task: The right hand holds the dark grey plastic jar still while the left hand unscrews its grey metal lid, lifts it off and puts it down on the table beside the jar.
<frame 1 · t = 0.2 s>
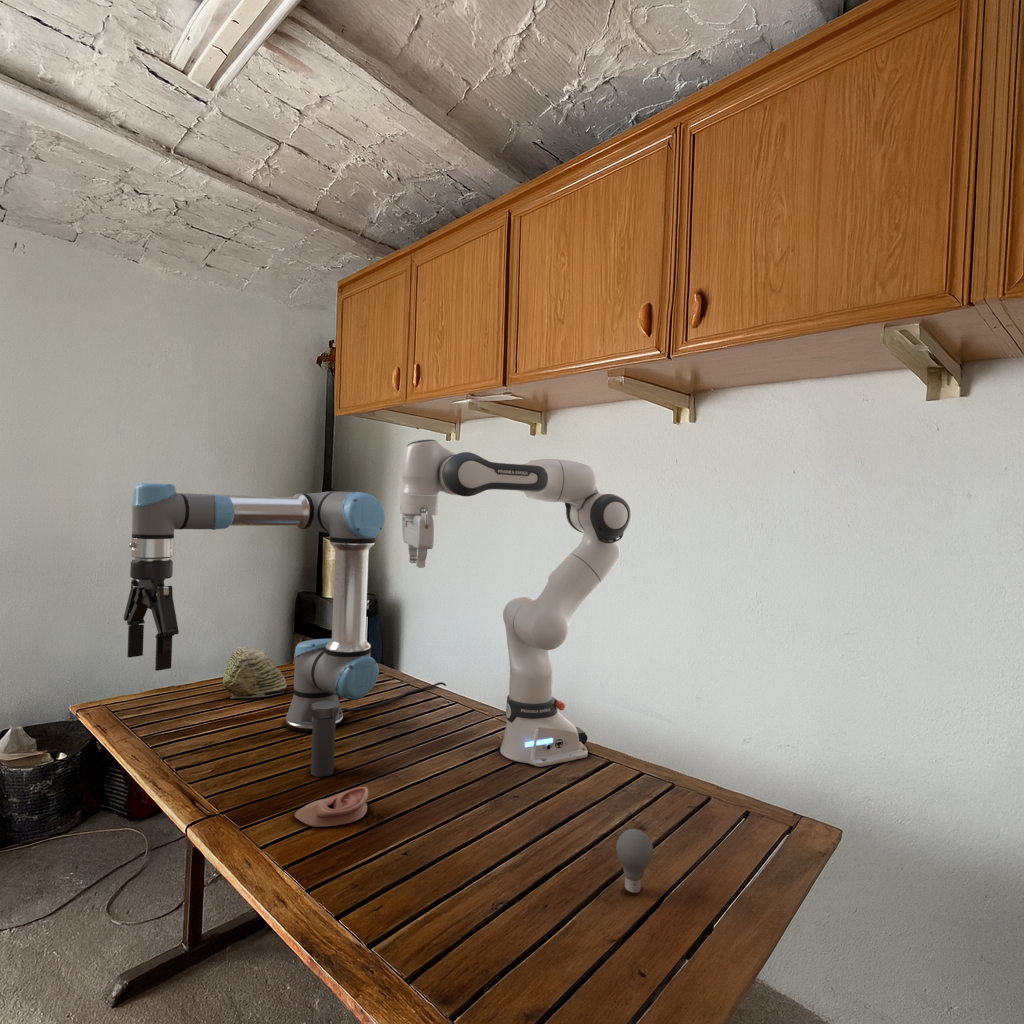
left hand: (148, 662, 129), 28 cm above the table, tool pointing down, fingers open, 13 cm apart
right hand: (416, 565, 151), 48 cm above the table, tool pointing down, fingers open, 8 cm apart
light bulb: (632, 891, 106), on the table
anatomical model: (331, 814, 127), on the table
lid: (324, 706, 145), point 15 cm above the table, screwed on, not yet turned
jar: (322, 772, 146), on the table
fossil: (254, 694, 198), on the table
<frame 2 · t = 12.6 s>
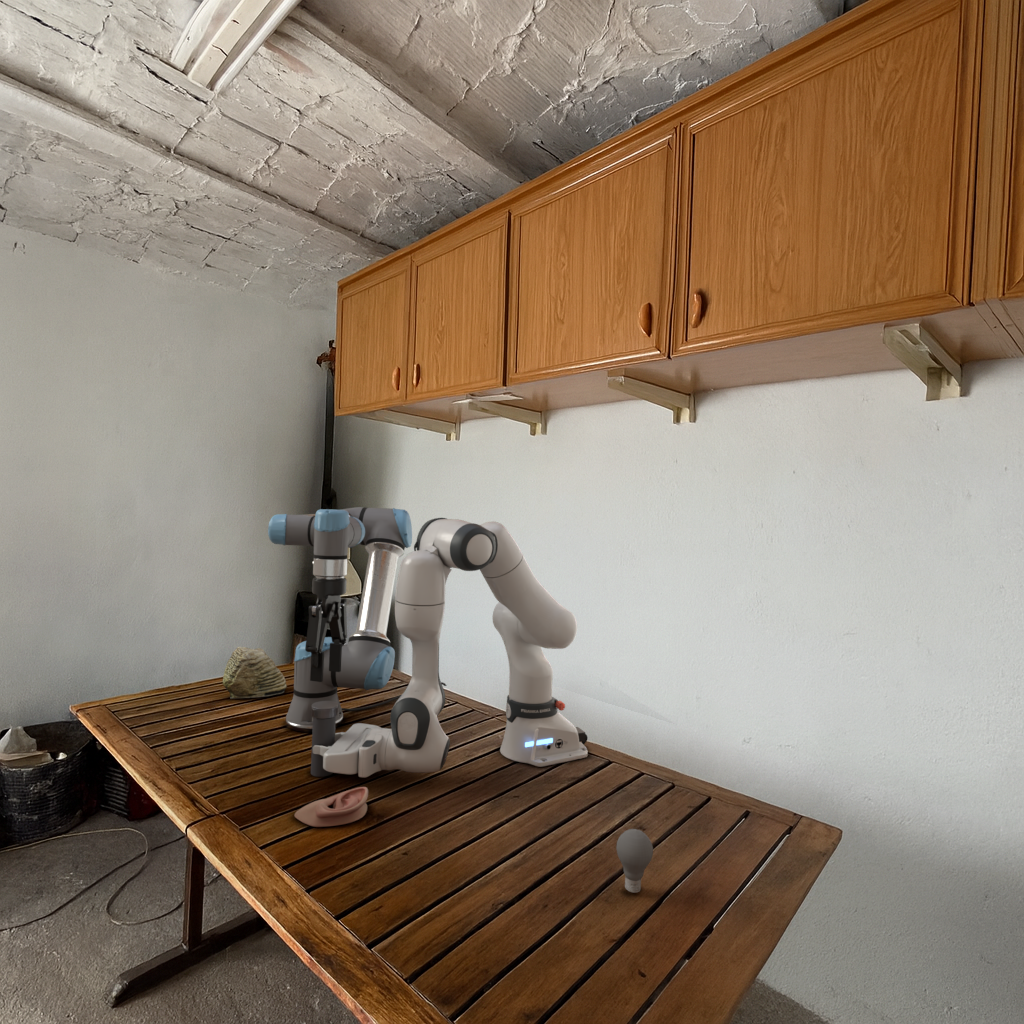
left hand: (325, 675, 145), 22 cm above the table, tool pointing down, fingers open, 8 cm apart
right hand: (319, 743, 145), 7 cm above the table, tool horizontal, fingers closed on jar, 5 cm apart
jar: (322, 772, 146), on the table, touching right hand
everything else where it was.
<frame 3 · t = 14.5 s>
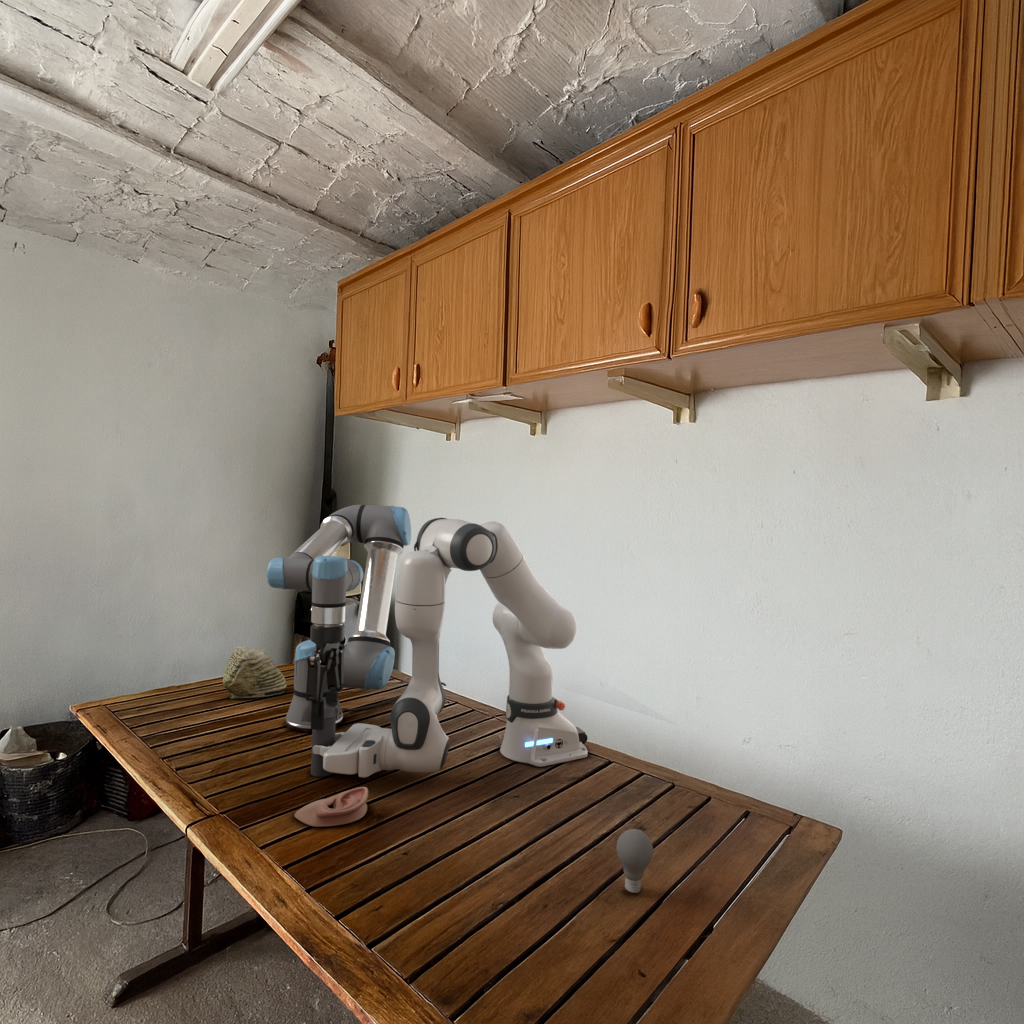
left hand: (324, 724, 145), 11 cm above the table, tool pointing down, fingers closed on lid, 6 cm apart
right hand: (319, 743, 145), 7 cm above the table, tool horizontal, fingers closed on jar, 5 cm apart
lid: (324, 706, 145), point 15 cm above the table, screwed on, not yet turned, touching left hand
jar: (322, 772, 146), on the table, touching right hand
everything else where it was.
when the left hand's fingers open (11 cm above the table, at t = 15.9 s): lid stays where it is, point 16 cm above the table.
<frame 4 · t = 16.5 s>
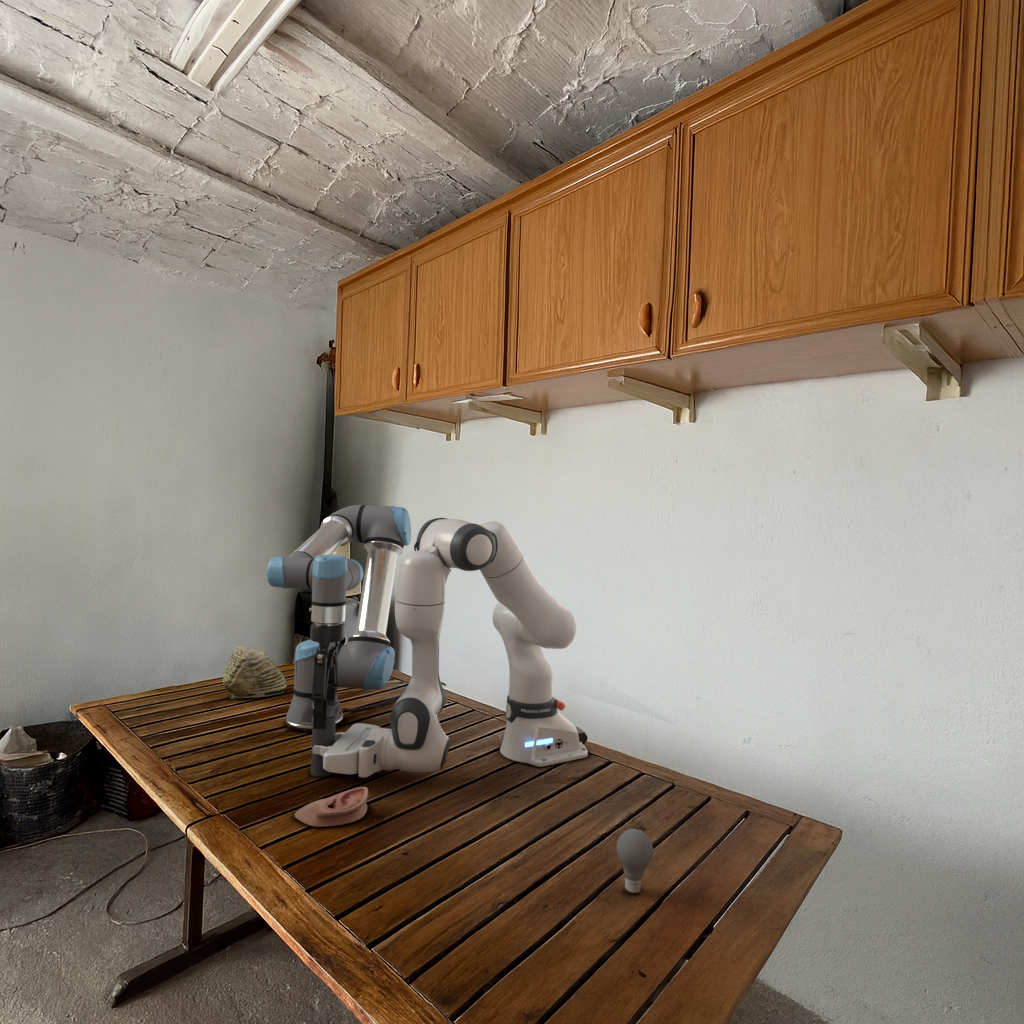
left hand: (324, 721, 145), 12 cm above the table, tool pointing down, fingers open, 8 cm apart
right hand: (319, 743, 145), 7 cm above the table, tool horizontal, fingers closed on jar, 5 cm apart
lid: (324, 705, 145), point 16 cm above the table, turned 72° so far, risen 0.2 cm, still on its thread
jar: (322, 772, 146), on the table, touching right hand
everything else where it was.
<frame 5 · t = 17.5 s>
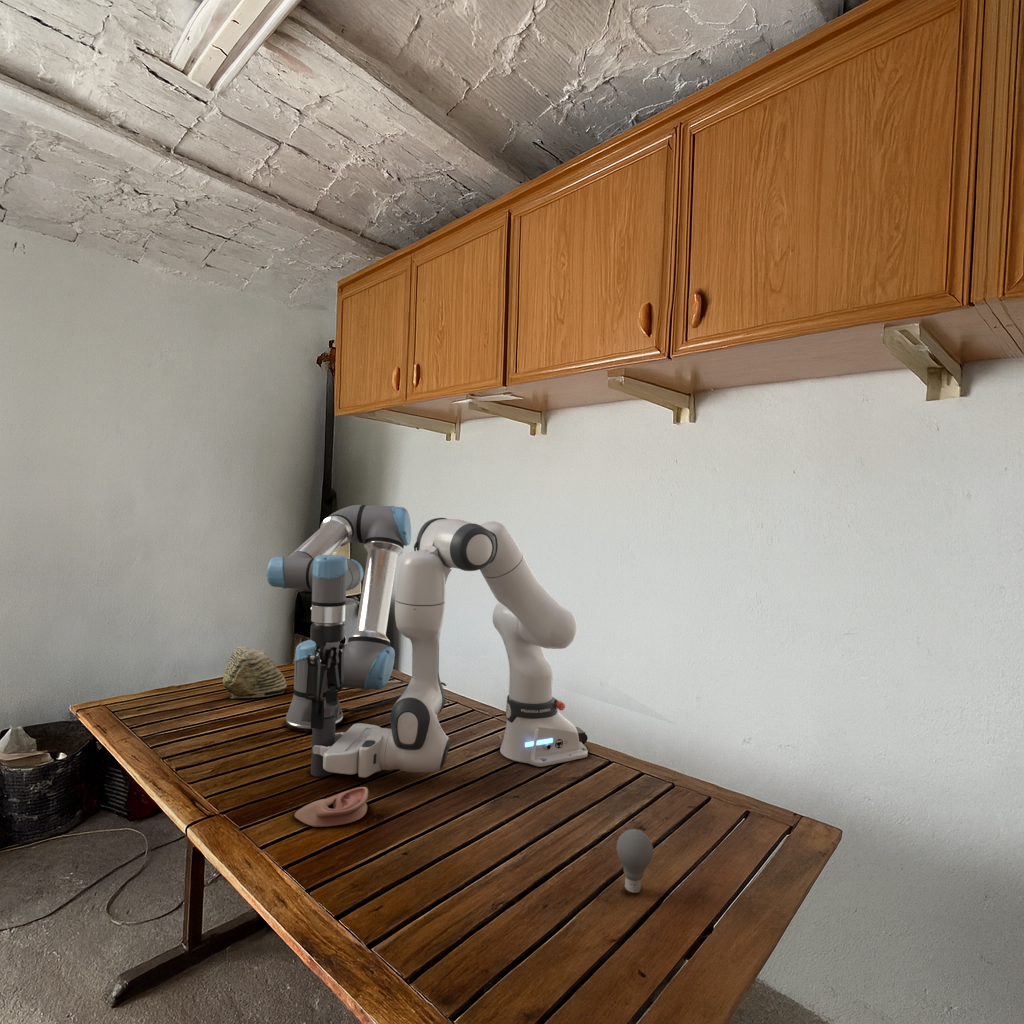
left hand: (324, 722, 145), 11 cm above the table, tool pointing down, fingers closed on lid, 6 cm apart
right hand: (319, 743, 145), 7 cm above the table, tool horizontal, fingers closed on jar, 5 cm apart
lid: (324, 705, 145), point 16 cm above the table, turned 72° so far, risen 0.2 cm, still on its thread, touching left hand
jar: (322, 772, 146), on the table, touching right hand
everything else where it was.
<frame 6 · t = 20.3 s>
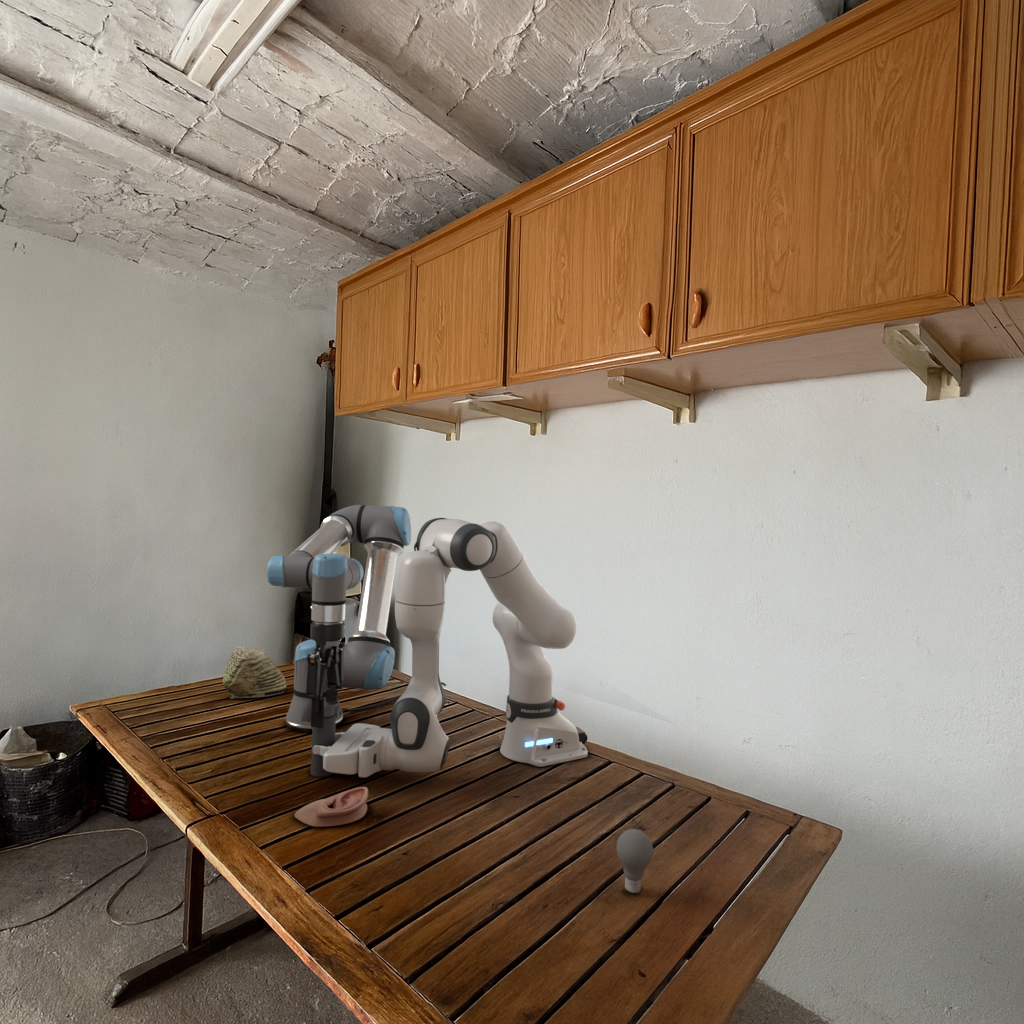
left hand: (324, 721, 145), 12 cm above the table, tool pointing down, fingers closed on lid, 6 cm apart
right hand: (319, 743, 145), 7 cm above the table, tool horizontal, fingers closed on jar, 5 cm apart
lid: (324, 704, 145), point 16 cm above the table, turned 143° so far, risen 0.5 cm, still on its thread, touching left hand
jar: (322, 772, 146), on the table, touching right hand
everything else where it was.
when the left hand's fingers open (0 cm above the table, at t = 26.7 s): lid drops 2 cm, point 2 cm above the table.
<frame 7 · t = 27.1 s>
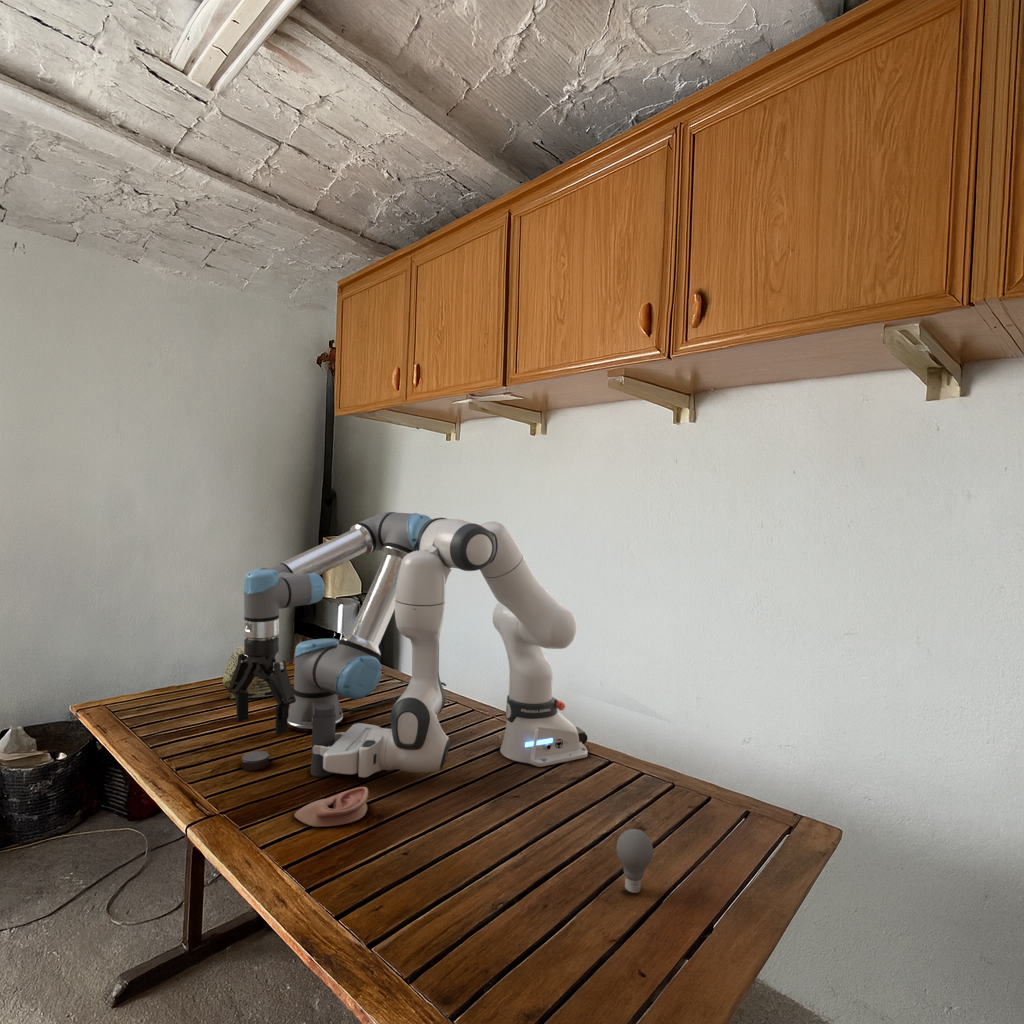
left hand: (261, 726, 148), 9 cm above the table, tool pointing down, fingers open, 13 cm apart
right hand: (319, 743, 145), 7 cm above the table, tool horizontal, fingers closed on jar, 5 cm apart
lid: (255, 757, 148), point 2 cm above the table, off its thread
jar: (322, 772, 146), on the table, touching right hand
everything else where it was.
when the right hand's fingers open (7 cm above the table, at t = 27.3 s): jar stays where it is, on the table.
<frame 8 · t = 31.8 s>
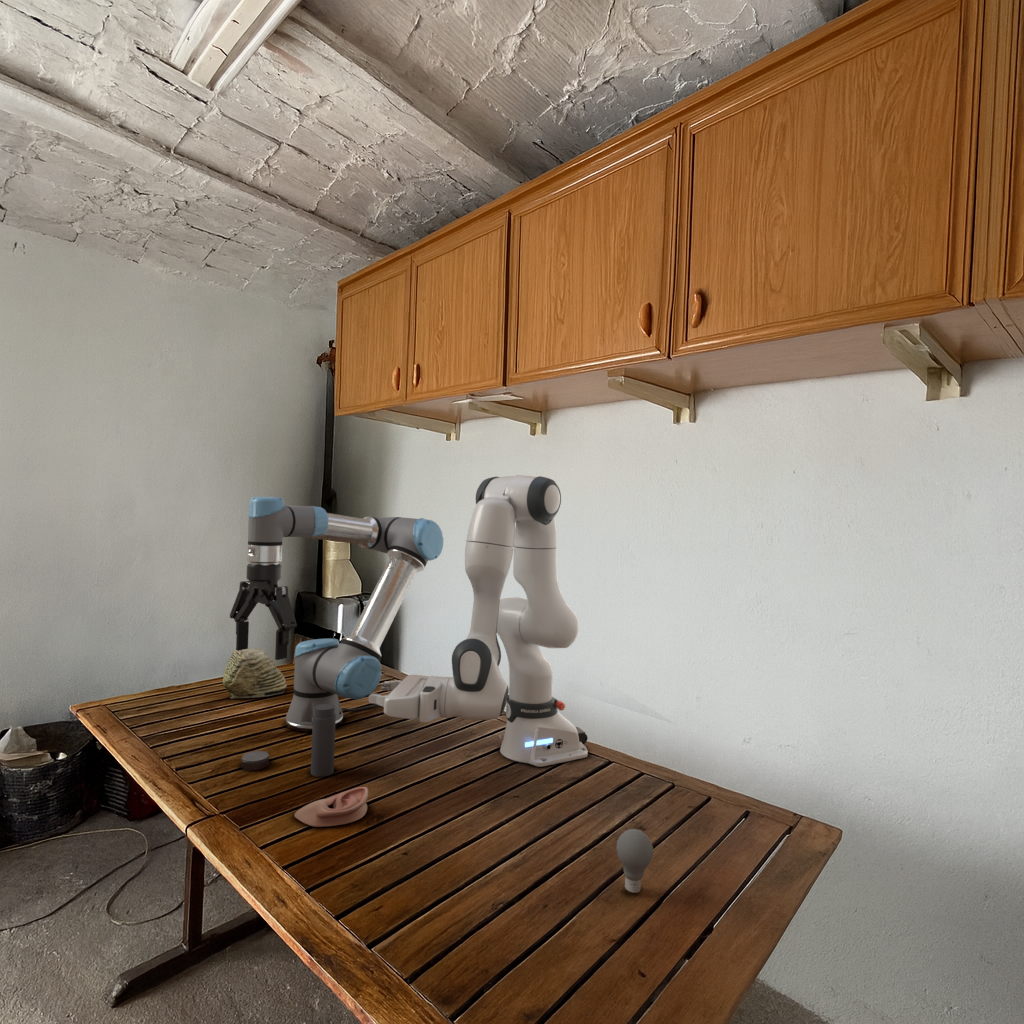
left hand: (261, 654, 147), 26 cm above the table, tool pointing down, fingers open, 13 cm apart
right hand: (376, 691, 144), 20 cm above the table, tool horizontal, fingers open, 8 cm apart
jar: (322, 772, 146), on the table
everything else where it was.
at the end: lid came off its thread; lid point 1.9 cm above the table; the left hand is holding nothing; the right hand is holding nothing; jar tilted 0°; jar moved 0.0 cm from its start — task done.
